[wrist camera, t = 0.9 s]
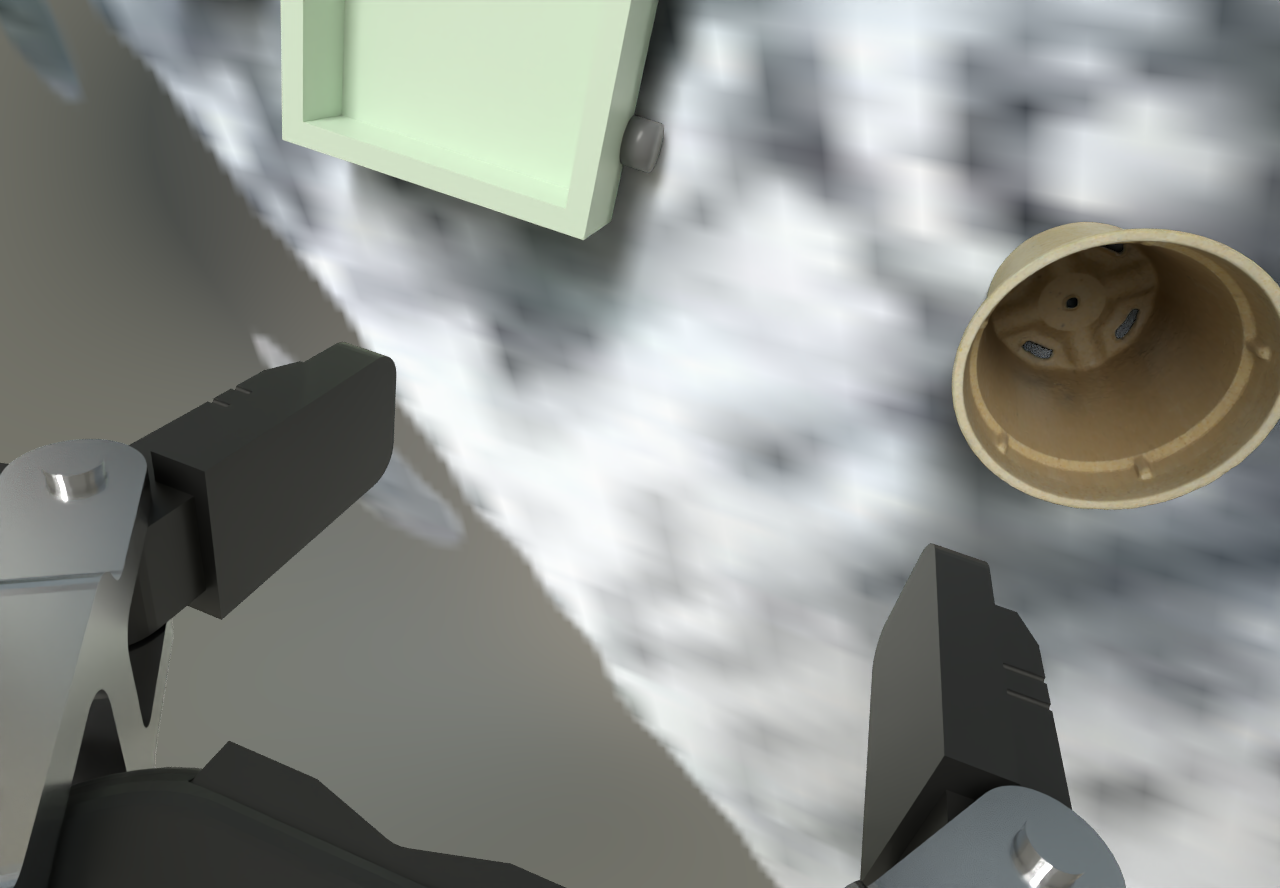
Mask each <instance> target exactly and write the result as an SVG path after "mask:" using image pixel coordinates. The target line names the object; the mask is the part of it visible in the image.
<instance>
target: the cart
mask: <svg viewBox="0 0 1280 888" xmlns="http://www.w3.org/2000/svg"><path fill="white" fill-rule="evenodd" d="M658 1H659V0H281V66H282V140H285V141H288V142H291V143H294V144H297V145H300V146H303V147H306V148H309V149H312V150H315V151H318V152H321V153H324V154H327V155H330V156H333V157H336V158H339V159H342V160H345V161H348V162H351V163H354V164H357V165H360V166H363V167H366V168H369V169H372V170H375V171H378V172H381V173H384V174H387V175H390V176H393V177H396V178H399V179H402V180H405V181H408V182H411V183H414V184H417V185H420V186H423V187H426V188H429V189H432V190H435V191H438V192H441V193H444V194H447V195H450V196H453V197H456V198H459V199H462V200H465V201H468V202H471V203H474V204H477V205H480V206H483V207H486V208H489V209H492V210H495V211H498V212H501V213H504V214H507V215H510V216H513V217H516V218H519V219H522V220H525V221H528V222H531V223H534V224H537V225H540V226H543V227H546V228H549V229H552V230H555V231H558V232H561V233H564V234H567V235H569V236H572V237H575V238H578V239H581V240H585V239H586V238H588V237H589V236H590V235H592V234H593V233H595V232H596V231H598V230H599V229H601V228H602V227H604V226H605V225H606V224H608V223H609V222H611V220H612V215H613V210H614V206H615V201H616V196H617V192H618V187H619V182H620V178H621V173H622V168H623V165H625V166H628V167H631V168H635V169H638V170H641V171H644V172H647V173H650V172H651V171H652V169H653V168H654V166H655V164H656V162H657V159H658V156H659V153H660V150H661V146H662V141H663V135H664V126H663V124H662V123H658V122H655V121H652V120H649V119H645V118H642V117H639V116H636V115H634V113H635V108H636V103H637V99H638V94H639V89H640V85H641V80H642V75H643V71H644V66H645V61H646V57H647V52H648V47H649V43H650V38H651V33H652V29H653V24H654V19H655V15H656V10H657V5H658Z"/></svg>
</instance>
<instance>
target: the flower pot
mask: <svg viewBox="0 0 1280 888" xmlns="http://www.w3.org/2000/svg"><path fill="white" fill-rule="evenodd" d="M1119 243H1122V244H1123V250H1122V251H1121V252H1120V253H1117V252H1115V251H1113V250H1111V249H1108V248H1105V247H1103V246H1102V245H1108V244H1119ZM1070 298H1076V299H1077V300H1078V304H1077V306H1075V307H1074V308H1068V307H1067V305H1066V303H1067V300H1069V299H1070ZM1133 309H1138V310H1139V311H1138V313H1137V315H1136V320H1135V322H1134V323H1133V325H1132V327H1131V328H1130V330H1129V331H1128V333H1127V334H1126V335H1125V336H1124V337H1122V338H1117V337H1116V334H1115V331H1116V330H1117V329H1118V327H1119V326H1120V325H1121V324H1123V322H1124V321H1125V320H1126V318H1127V316H1128V315H1129V313H1130V312H1131V311H1132V310H1133ZM1027 341H1031V342H1034V343H1036V344H1039V345H1041V346H1043V347H1045V348H1048V349H1052V351H1053V352H1052V354H1051V356H1050V357H1049V358H1039V357H1037V356H1035V355H1033V354H1032V353H1031V352H1030V351H1026V350H1025V349H1024V348H1023V347H1022V345H1024V344H1025V343H1026V342H1027ZM952 397H953V404H954V410H955V413H956V417H957V421H958V424H959V427H960V429H961V431H962V433H963V435H964V437H965V439H966V440H967V443H968V445H969V446H970V448H971V449H972V450H973V452H974V453H975V454H976V456H977V457H978V458H979V459H980V460H981V462H982V463H983V464H984V465H985V466H986V467H987V468H988V469H989V470H991V471H992V472H993V473H994V474H995V475H997V476H998V477H999V478H1000V479H1002V480H1003V481H1005V482H1006V483H1008V484H1009V485H1010V486H1012V487H1014V488H1016V489H1018V490H1020V491H1022V492H1024V493H1026V494H1028V495H1030V496H1033V497H1035V498H1038V499H1041V500H1044V501H1048V502H1051V503H1054V504H1059V505H1064V506H1068V507H1074V508H1082V509H1104V510H1109V509H1113V510H1116V509H1125V508H1126V509H1132V508H1138V507H1142V506H1147V505H1153V504H1158V503H1161V502H1165V501H1168V500H1172V499H1174V498H1177V497H1181V496H1183V495H1185V494H1187V493H1190V492H1192V491H1194V490H1196V489H1199V488H1201V487H1204V486H1206V485H1208V484H1210V483H1211V482H1213V481H1215V480H1216V479H1218V478H1220V477H1221V476H1222V475H1223V474H1225V473H1226V472H1228V471H1229V470H1230V469H1231V468H1233V467H1235V466H1237V465H1238V464H1240V463H1241V462H1242V461H1243V460H1244V459H1245V458H1246V457H1247V456H1248V455H1249V454H1251V453H1252V452H1253V450H1255V449H1256V448H1257V447H1258V446H1259V445H1260V444H1261V443H1262V441H1263V440H1264V439H1265V438H1266V437H1267V435H1268V434H1269V433H1270V431H1271V430H1272V429H1273V428H1274V426H1275V425H1276V423H1277V422H1278V420H1279V419H1280V288H1279V286H1278V284H1277V283H1276V282H1275V281H1274V280H1273V279H1272V278H1271V277H1270V276H1269V275H1268V274H1267V273H1266V272H1265V271H1264V270H1263V269H1262V268H1261V267H1260V266H1258V265H1257V264H1256V263H1255V262H1254V261H1252V260H1250V259H1249V258H1247V257H1246V256H1244V255H1243V254H1241V253H1239V252H1238V251H1236V250H1234V249H1232V248H1230V247H1228V246H1226V245H1225V244H1222V243H1220V242H1217V241H1215V240H1212V239H1209V238H1206V237H1203V236H1199V235H1195V234H1191V233H1186V232H1181V231H1174V230H1165V229H1124V230H1123V229H1121V228H1118V227H1116V226H1112V225H1108V224H1103V223H1094V222H1077V223H1071V224H1066V225H1062V226H1058V227H1055V228H1052V229H1049V230H1046V231H1044V232H1041V233H1039V234H1037V235H1035V236H1033V237H1031V238H1029V239H1028V240H1026V241H1025V242H1023V243H1022V244H1021V245H1019V246H1018V247H1017V248H1016V249H1015V250H1014V251H1013V252H1012V253H1011V254H1010V255H1009V256H1008V257H1007V258H1006V259H1005V260H1004V262H1003V263H1002V264H1001V266H1000V267H999V269H998V270H997V272H996V274H995V276H994V278H993V280H992V282H991V285H990V288H989V291H988V295H987V299H986V300H985V301H984V302H983V303H982V305H981V306H980V307H979V309H978V310H977V312H976V313H975V315H974V316H973V318H972V319H971V321H970V323H969V324H968V326H967V328H966V330H965V332H964V334H963V337H962V339H961V342H960V345H959V347H958V349H957V354H956V358H955V362H954V366H953V374H952Z"/></svg>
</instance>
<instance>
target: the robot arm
mask: <svg viewBox="0 0 1280 888" xmlns="http://www.w3.org/2000/svg"><path fill="white" fill-rule="evenodd" d="M395 394H396V367H395V364H394V362H393V360H392V359H391V358H390V357H387V356H384V355H381V354H378V353H376V352H373V351H370V350H367V349H364V348H361V347H358V346H355V345H352V344H349V343H346V342H340V343H337V344H335V345H333V346H331V347H330V348H328V349H326V350H324V351H323V352H321V353H319V354H317V355H316V356H314V357H312V358H311V359H309V360H307V361H305V362H300V361H299V362H296V363H292V364H288V365H284V366H280V367H276V368H272V369H268V370H264V371H262V372H260V373H259V374H257V375H255V376H253V377H251V378H250V379H248V380H246V381H244V382H242V383H241V384H239V385H237V386H236V389H235V390H233V389H230V390H228V391H226V392H224V393H223V394H221V395H219V396H217V397H215V398H214V400H213V402H212V403H210V402H206V403H204V404H203V405H201V406H199V407H197V408H195V409H194V410H192V411H190V412H188V413H187V414H185V415H183V416H181V417H180V418H177V419H176V420H174V421H172V422H170V423H168V424H166V425H165V426H163V427H161V428H159V429H158V430H156V431H154V432H152V433H150V434H148V435H147V436H145V437H143V438H141V439H139V440H138V441H136V442H134V443H132V444H131V445H125V444H123V443H119V442H115V441H110V440H101V439H79V440H70V441H63V442H58V443H54V444H50V445H47V446H43V447H40V448H37V449H35V450H32V451H30V452H28V453H26V454H24V455H22V456H20V457H18V458H17V459H15V460H14V461H13V462H11V463H10V464H4V463H0V888H565V887H563V886H561V885H558V884H556V883H554V882H551V881H549V880H547V879H544V878H542V877H540V876H538V875H536V874H533V873H531V872H529V871H526V870H524V869H522V868H519V867H517V866H515V865H513V864H510V863H503V862H496V861H490V860H483V859H476V858H469V857H463V856H455V855H449V854H442V853H436V852H429V851H423V850H416V849H409V848H405V847H401V846H398V845H396V844H393V843H392V842H391V841H389V840H388V839H386V838H385V837H384V836H383V835H382V834H381V833H379V832H378V831H377V830H376V829H375V828H373V826H371V825H370V824H369V823H368V822H367V821H365V820H364V819H363V818H362V817H361V816H360V815H358V814H357V813H356V812H355V811H354V810H353V809H351V808H350V807H349V806H348V805H347V804H346V803H344V802H343V801H342V800H341V799H340V798H338V797H337V796H336V795H335V794H334V793H333V792H331V791H330V790H329V789H328V788H327V787H326V786H324V785H323V784H322V783H321V782H319V780H317V779H315V778H313V777H311V776H309V775H306V774H304V773H302V772H300V771H297V770H295V769H293V768H290V767H288V766H286V765H283V764H281V763H279V762H277V761H274V760H272V759H270V758H267V757H265V756H263V755H261V754H258V753H256V752H254V751H251V750H249V749H247V748H244V747H242V746H240V745H238V744H235V743H233V742H231V741H228V742H227V744H225V745H224V747H223V748H222V749H221V750H220V751H219V752H218V753H217V754H216V755H215V756H214V757H213V758H212V759H211V760H210V762H209V763H208V764H207V765H206V766H205V767H204V768H203V769H199V768H182V767H164V768H155V758H156V747H157V740H158V733H159V727H160V720H161V714H162V707H163V701H164V694H165V688H166V680H167V675H168V668H169V661H170V655H171V648H172V642H173V634H174V633H173V632H174V631H173V630H174V629H173V623H172V618H173V617H174V616H175V615H176V614H177V613H179V612H180V611H181V610H182V609H183V608H185V607H186V606H190V607H192V608H195V609H197V610H200V611H202V612H204V613H207V614H209V615H212V616H214V617H216V618H219V619H221V620H222V619H223V618H224V617H225V616H226V615H227V614H228V613H230V612H231V611H232V610H233V609H234V608H236V607H237V606H238V605H239V604H240V603H241V602H242V601H243V600H245V599H246V598H247V597H248V596H249V595H250V594H251V593H252V592H254V591H255V590H256V589H257V588H258V587H259V586H260V585H262V584H263V583H264V582H265V581H266V580H267V579H268V578H270V577H271V576H272V575H273V574H274V573H275V572H276V571H277V570H279V569H280V568H281V567H282V566H283V565H284V564H285V563H287V562H288V561H289V560H290V559H291V558H292V557H293V556H294V555H296V554H297V553H298V552H299V551H300V550H301V549H302V548H304V547H305V546H306V545H307V544H308V543H309V542H310V541H311V540H313V539H314V538H315V537H316V536H317V535H318V534H319V533H320V532H322V531H323V530H324V529H325V528H326V527H327V526H328V525H330V524H331V523H332V522H333V521H334V520H335V519H336V518H338V517H339V516H340V515H341V514H342V513H343V512H344V511H345V510H347V509H348V508H349V507H350V506H351V505H352V504H353V503H355V502H356V501H357V500H358V499H359V498H360V497H361V496H363V495H364V494H365V493H366V492H367V491H368V490H369V489H370V488H372V487H373V486H374V485H375V484H376V483H377V482H378V481H379V479H380V478H381V477H382V475H383V474H384V472H385V470H386V468H387V466H388V464H389V461H390V459H391V455H392V451H393V443H394V418H395V417H394V416H395ZM1044 679H1045V674H1044V669H1043V664H1042V659H1041V654H1040V649H1039V645H1038V644H1037V642H1036V641H1035V639H1034V637H1033V636H1032V634H1031V633H1030V631H1029V630H1028V628H1027V627H1026V625H1025V624H1024V622H1023V621H1022V619H1021V618H1020V616H1019V615H1018V613H1017V612H1014V611H1012V610H1009V609H1006V608H1003V607H1000V606H997V605H995V603H994V596H993V589H992V582H991V575H990V568H989V565H988V563H987V562H985V561H982V560H979V559H976V558H973V557H970V556H967V555H964V554H961V553H958V552H955V551H952V550H950V549H947V548H944V547H941V546H938V545H935V544H929V545H928V546H926V548H925V549H924V550H923V552H922V554H921V555H920V557H919V559H918V561H917V563H916V565H915V567H914V569H913V571H912V573H911V575H910V577H909V578H908V580H907V582H906V584H905V586H904V588H903V590H902V592H901V594H900V596H899V598H898V600H897V602H896V604H895V606H894V608H893V610H892V612H891V613H890V615H889V617H888V619H887V621H886V623H885V625H884V628H883V630H882V633H881V635H880V638H879V641H878V644H877V648H876V652H875V656H874V661H873V669H872V685H871V702H870V720H869V737H868V754H867V772H866V789H865V806H864V824H863V841H862V858H861V876H860V880H858V881H855V882H853V883H851V884H849V885H848V886H846V887H845V888H1126V886H1125V881H1124V878H1123V875H1122V872H1121V870H1120V867H1119V865H1118V863H1117V862H1116V860H1115V858H1114V856H1113V854H1112V853H1111V851H1110V850H1109V848H1108V847H1107V845H1106V844H1105V842H1104V841H1103V840H1102V839H1101V838H1100V836H1099V835H1098V834H1097V833H1096V832H1095V830H1094V829H1093V828H1092V827H1091V826H1090V825H1088V824H1087V823H1086V822H1085V821H1084V820H1083V819H1082V818H1081V817H1080V816H1079V815H1077V814H1076V813H1075V812H1074V811H1072V807H1071V802H1070V797H1069V792H1068V787H1067V782H1066V777H1065V772H1064V767H1063V762H1062V758H1061V753H1060V748H1059V743H1058V738H1057V733H1056V728H1055V723H1054V718H1053V713H1052V711H1050V710H1049V707H1050V705H1051V703H1050V698H1049V693H1048V688H1047V684H1045V683H1044Z"/></svg>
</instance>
